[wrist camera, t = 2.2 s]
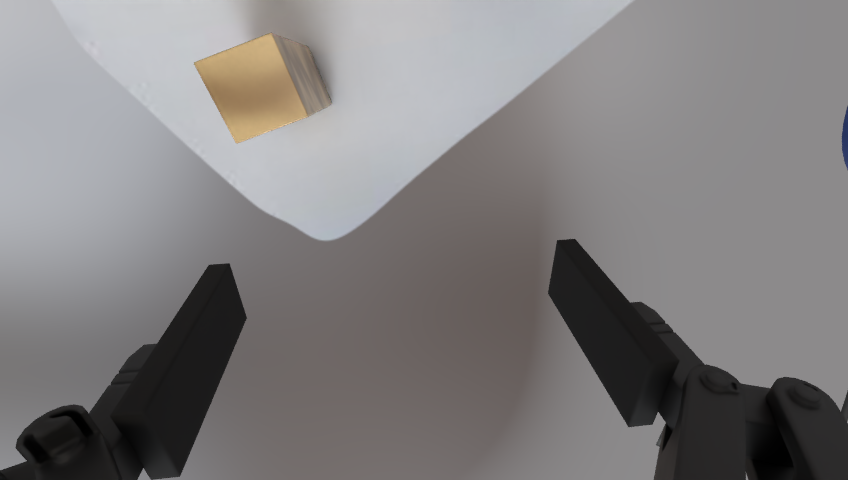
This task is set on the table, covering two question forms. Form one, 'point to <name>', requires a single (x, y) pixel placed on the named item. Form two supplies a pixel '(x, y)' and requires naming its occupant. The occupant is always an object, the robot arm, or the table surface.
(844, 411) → the robot arm
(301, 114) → the block
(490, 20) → the table surface
